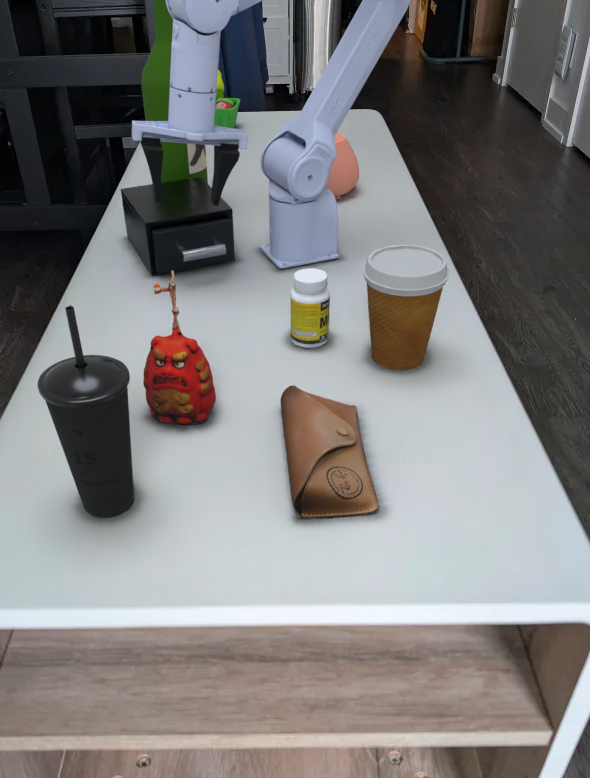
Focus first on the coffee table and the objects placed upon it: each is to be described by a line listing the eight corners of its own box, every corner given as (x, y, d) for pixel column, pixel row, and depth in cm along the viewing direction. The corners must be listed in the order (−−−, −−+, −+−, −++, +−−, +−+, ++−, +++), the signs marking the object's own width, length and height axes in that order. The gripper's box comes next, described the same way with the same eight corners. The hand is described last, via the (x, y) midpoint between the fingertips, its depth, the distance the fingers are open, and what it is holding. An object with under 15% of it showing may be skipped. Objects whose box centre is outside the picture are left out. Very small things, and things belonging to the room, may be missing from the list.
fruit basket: (181, 134, 164) (175, 73, 157) (191, 121, 171) (186, 62, 163) (235, 135, 163) (232, 74, 155) (243, 123, 169) (241, 63, 162)
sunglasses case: (385, 510, 73) (351, 462, 69) (319, 542, 75) (283, 498, 72) (356, 402, 87) (326, 358, 83) (301, 432, 89) (269, 390, 85)
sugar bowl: (355, 205, 132) (358, 140, 126) (272, 202, 134) (271, 138, 127) (361, 180, 141) (364, 118, 135) (283, 177, 143) (282, 116, 136)
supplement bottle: (325, 350, 97) (327, 285, 91) (287, 347, 97) (286, 282, 92) (331, 331, 100) (333, 267, 95) (294, 328, 101) (294, 265, 95)
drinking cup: (72, 479, 79) (27, 289, 65) (149, 473, 79) (121, 284, 66) (63, 530, 73) (12, 334, 60) (147, 525, 73) (115, 328, 60)
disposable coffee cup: (444, 343, 97) (457, 248, 89) (429, 383, 91) (442, 284, 83) (368, 332, 100) (374, 238, 92) (348, 370, 93) (353, 272, 85)
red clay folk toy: (141, 426, 85) (121, 296, 75) (157, 391, 90) (140, 265, 81) (211, 431, 84) (200, 299, 74) (223, 395, 89) (214, 268, 80)
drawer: (246, 272, 111) (244, 232, 108) (167, 287, 108) (162, 246, 105) (206, 226, 124) (203, 189, 120) (134, 238, 121) (129, 200, 117)
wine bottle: (197, 223, 128) (177, -18, 106) (147, 217, 130) (117, -20, 109) (218, 203, 134) (203, -28, 113) (169, 198, 136) (146, -30, 115)
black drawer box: (235, 260, 117) (232, 208, 112) (151, 275, 113) (145, 223, 108) (204, 225, 127) (201, 176, 122) (127, 238, 124) (120, 188, 119)
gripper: (137, 89, 93) (134, 208, 101) (257, 100, 96) (245, 214, 105) (130, 77, 98) (128, 191, 106) (245, 88, 102) (235, 197, 110)
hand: (186, 201), depth 106 cm, fingers open, 7 cm apart
